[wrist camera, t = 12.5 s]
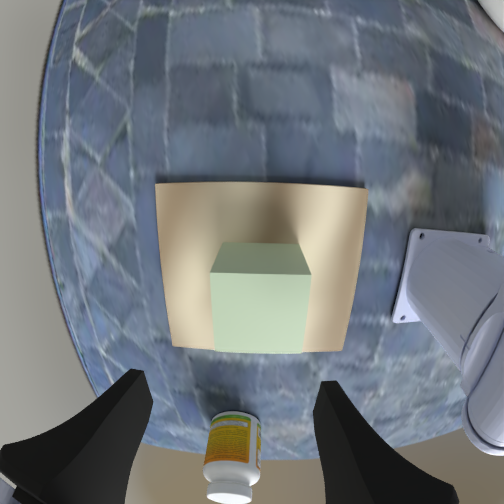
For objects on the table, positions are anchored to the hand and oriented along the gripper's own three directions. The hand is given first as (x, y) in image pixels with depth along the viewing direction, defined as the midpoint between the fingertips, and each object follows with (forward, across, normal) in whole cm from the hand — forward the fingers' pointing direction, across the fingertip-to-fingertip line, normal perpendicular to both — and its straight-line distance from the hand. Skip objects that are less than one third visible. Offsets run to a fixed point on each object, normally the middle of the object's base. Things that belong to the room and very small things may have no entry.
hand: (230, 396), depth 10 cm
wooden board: (+10, -1, -1) cm, 11 cm away
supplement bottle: (+11, +1, +17) cm, 20 cm away
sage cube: (+10, -1, -1) cm, 10 cm away
